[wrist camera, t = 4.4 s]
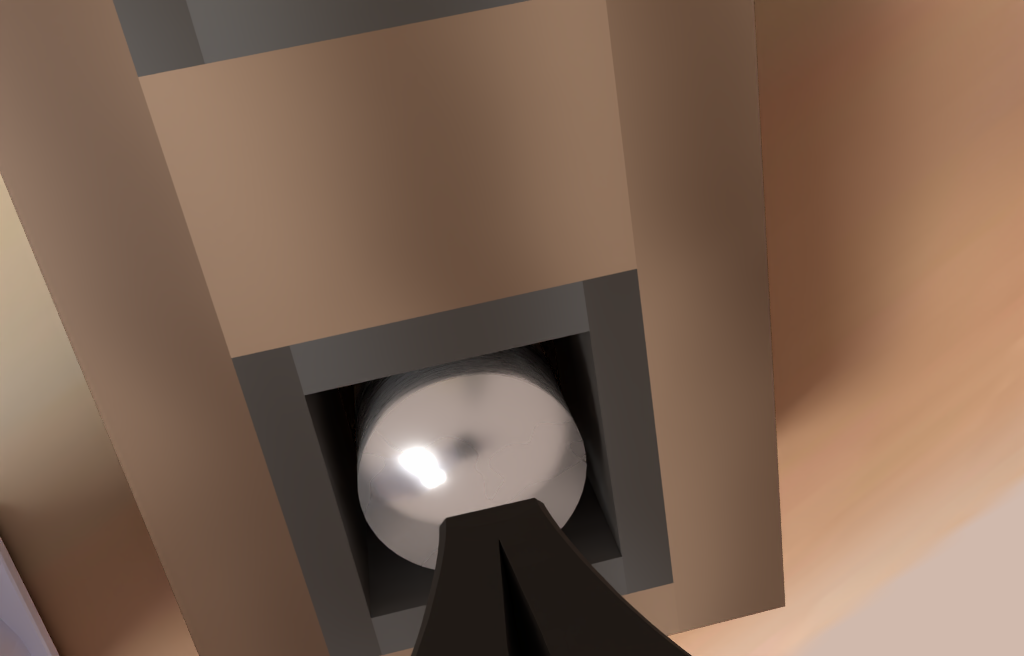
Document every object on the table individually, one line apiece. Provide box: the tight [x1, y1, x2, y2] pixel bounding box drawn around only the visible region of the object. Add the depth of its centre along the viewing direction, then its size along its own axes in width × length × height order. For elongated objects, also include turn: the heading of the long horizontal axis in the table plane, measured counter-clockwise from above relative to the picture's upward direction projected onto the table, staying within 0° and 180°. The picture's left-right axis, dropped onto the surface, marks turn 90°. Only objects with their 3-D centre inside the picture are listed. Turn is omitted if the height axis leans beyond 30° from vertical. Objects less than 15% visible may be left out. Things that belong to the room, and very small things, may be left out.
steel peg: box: [354, 343, 587, 570], centre depth 21 cm, size 4×4×5 cm
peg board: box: [0, 0, 785, 656], centre depth 18 cm, size 12×22×5 cm, turn 9°
